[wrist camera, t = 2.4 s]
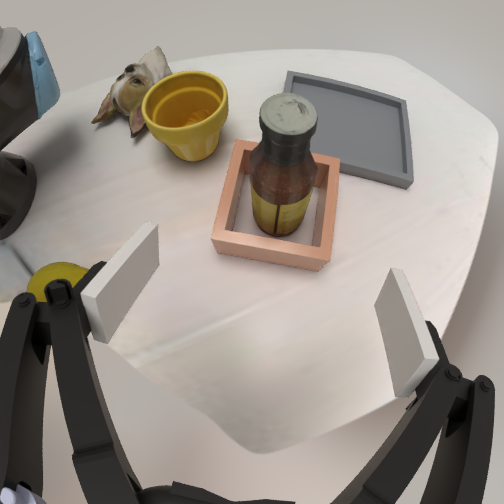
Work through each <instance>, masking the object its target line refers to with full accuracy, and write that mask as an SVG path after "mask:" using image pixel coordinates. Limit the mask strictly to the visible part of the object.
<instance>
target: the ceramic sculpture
mask: <svg viewBox="0 0 504 504" xmlns="http://www.w3.org/2000/svg"><path fill="white" fill-rule="evenodd" d="M170 75H172V72H171V70H170V68H169V66H168V64H167V61H166V58H165V55H164V54H163V52H162V50H161V48H160V47H159V46H157V47H156V48H155V49H154V50H152V51H150V52H149V53H147V54H145V55H144V56H143V57H142V58H141V59H140V61H139V62H138V63H134V64H131V65H129V66H127V67H126V68H125V71H124V73H123V74H122V75H121V76H119V77H118V78H117V79H116V82H115V83H114V84H113V85H112V87H111V91H110V93H109V94H108V95H107V97H106V98H105V99H104V100H103V102H102V104H101V108H100V109H99V112H98V115H97V116H96V117H95V118H94V119H93V121H92V122H91V123H92V124H95V123H98V122H101V121H104V120H107V119H109V118H111V117H112V116H113V115H114V114H115V113H116V112H117V111H119V112H120V113H121V114H123V115H126V116H129V126H130V130H131V138H133V137H135V136H136V135H137V134H139V133H140V132H141V131H142V130H143V129H144V128H145V127H146V126H147V125H146V123H145V120H144V118H143V115H142V110H141V108H142V102H143V99H144V97H145V95H146V93H147V92H148V91H149V90H150V88H151V87H152V86H154V85H155V84H156V83H157V82H159V81H160V80H162V79H163V78H165V77H167V76H170Z"/></svg>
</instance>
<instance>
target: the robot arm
mask: <svg viewBox="0 0 504 504" xmlns="http://www.w3.org/2000/svg"><path fill="white" fill-rule="evenodd" d="M59 97H60V89H59V86H58V82H57V80H56V77H55V74H54V71H53V69H52V66H51V63H50V61H49V58H48V56H47V53H46V51H45V48H44V46H43V43H42V41H41V39H40V37H39V35H38V34H37V32H35V31H33V32H31V33H28V34H26V36H25V37H24V36H23V35H22V33H21V32H20V31H19V30H18V29H17V28H15V27H10V28H4V29H2V28H1V27H0V240H1V239H4V238H6V237H8V236H9V235H10V234H12V233H13V232H14V231H15V230H16V229H17V228H18V226H19V225H20V224H21V222H22V221H23V219H24V218H25V216H26V214H27V212H28V210H29V208H30V206H31V203H32V200H33V197H34V193H35V188H36V173H35V170H34V167H33V166H32V165H31V164H30V163H29V162H28V161H27V160H26V159H25V158H23V157H22V156H19V155H16V154H12V153H8V152H5V151H1V150H2V149H3V148H4V147H6V146H7V145H8V144H9V143H10V142H11V141H12V140H13V139H15V138H16V137H17V136H18V135H19V134H20V133H22V132H23V131H24V130H25V129H27V128H28V127H29V126H30V125H31V124H33V123H34V122H35V121H37V120H38V119H40V118H41V117H42V115H43V114H44V113H45V112H47V111H48V110H49V109H50V108H51V107H53V106H54V105H55V104H56V103H57V101H58V99H59ZM158 266H159V246H158V224H155V223H149V222H145V223H144V224H143V225H142V226H141V227H140V228H139V229H138V230H137V231H136V232H135V233H134V235H133V236H132V237H131V238H130V239H129V240H128V241H127V242H126V243H125V244H124V245H123V246H122V247H121V248H120V249H119V250H118V251H117V253H116V254H115V255H114V256H113V257H112V258H111V259H110V260H109V261H108V262H103V261H101V262H99V263H97V264H95V265H93V266H92V267H91V268H90V269H89V271H88V272H87V273H86V274H85V275H84V276H83V278H81V279H80V280H79V281H78V283H77V284H76V285H75V286H74V287H73V288H72V285H71V283H70V281H68V280H67V279H55V280H53V281H51V282H49V283H48V284H47V285H46V286H45V288H44V294H45V297H46V300H47V302H37V299H36V297H35V295H34V294H33V293H30V292H25V293H21V294H19V295H18V296H16V297H15V298H14V300H13V302H12V304H11V307H10V310H9V313H8V315H7V318H6V321H5V324H4V328H3V331H2V334H1V337H0V504H46V502H45V501H44V500H43V499H42V490H43V461H42V460H43V458H42V437H43V412H44V398H45V387H46V378H47V369H48V362H49V355H50V349H51V345H52V349H53V356H54V363H55V370H56V376H57V382H58V387H59V392H60V397H61V402H62V407H63V411H64V416H65V420H66V424H67V428H68V432H69V435H70V439H71V442H72V446H73V450H74V453H73V455H72V460H73V464H74V467H75V470H76V473H77V476H78V479H79V482H80V485H81V487H82V490H83V492H84V495H85V498H86V500H87V503H88V504H295V502H292V501H279V500H269V499H263V500H252V501H238V502H233V501H229V500H227V499H225V498H223V497H220V496H218V495H216V494H214V493H211V492H209V491H207V490H205V489H203V488H198V487H194V486H190V485H186V484H182V483H178V482H175V481H173V483H172V486H168V485H165V486H155V487H150V488H146V489H144V490H143V489H142V487H141V485H140V483H139V481H138V479H137V477H136V475H135V474H134V472H133V470H132V468H131V466H130V464H129V462H128V459H127V457H126V455H125V452H124V450H123V448H122V445H121V443H120V440H119V438H118V435H117V433H116V430H115V428H114V425H113V422H112V419H111V416H110V413H109V411H108V408H107V405H106V402H105V399H104V396H103V393H102V389H101V386H100V383H99V379H98V376H97V372H96V369H95V365H94V361H93V357H92V354H91V350H90V346H89V341H88V338H87V336H88V335H89V333H90V332H92V335H93V339H94V340H97V341H100V342H103V343H105V344H108V343H109V341H110V339H111V338H112V336H113V335H114V333H115V331H116V330H117V328H118V327H119V325H120V323H121V322H122V320H123V319H124V317H125V316H126V314H127V313H128V311H129V309H130V308H131V306H132V305H133V303H134V302H135V300H136V299H137V297H138V296H139V294H140V293H141V291H142V290H143V288H144V287H145V285H146V284H147V282H148V281H149V279H150V278H151V276H152V275H153V273H154V272H155V271H156V269H157V268H158ZM374 306H375V310H376V313H377V317H378V321H379V325H380V329H381V333H382V337H383V342H384V346H385V350H386V355H387V359H388V364H389V368H390V373H391V378H392V383H393V388H394V394H395V397H409V396H410V395H411V394H412V393H413V392H414V390H415V391H416V395H417V397H416V398H415V399H414V400H413V401H412V402H411V403H410V404H409V406H408V407H407V408H406V410H407V411H406V412H405V414H404V415H403V417H402V418H401V420H400V421H399V422H398V424H397V425H396V427H395V428H394V429H393V431H392V433H391V434H390V435H389V436H388V438H387V439H386V440H385V442H384V443H383V444H382V446H381V447H380V448H379V449H378V451H377V452H376V453H375V455H374V456H373V457H372V458H371V460H370V461H369V462H368V463H367V465H366V466H365V467H364V468H363V469H362V470H361V471H360V473H359V474H358V475H357V476H356V477H355V478H354V480H353V481H352V482H351V483H350V484H349V485H348V486H347V487H346V488H345V489H344V491H342V492H341V494H340V495H339V496H338V497H337V498H336V499H335V500H334V501H333V502H332V503H330V504H395V503H396V501H397V500H398V498H399V497H400V496H401V494H402V493H403V491H404V490H405V488H406V487H407V486H408V484H409V482H410V481H411V480H412V478H413V476H414V475H415V473H416V472H417V470H418V468H419V467H420V465H421V464H422V462H423V460H424V459H425V457H426V455H427V454H428V452H429V450H430V448H431V447H432V445H433V443H434V441H435V439H436V437H437V435H438V434H439V432H440V430H441V428H442V431H441V435H440V439H439V443H438V447H437V451H436V455H435V459H434V462H433V466H432V469H431V472H430V476H429V479H428V482H427V485H426V488H425V491H424V494H423V496H422V499H421V502H420V504H482V499H483V495H484V490H485V485H486V480H487V475H488V469H489V462H490V455H491V447H492V438H493V426H494V408H495V388H494V384H493V382H492V381H491V380H490V379H489V378H488V377H486V376H484V375H479V376H478V377H477V378H476V379H475V380H474V381H471V380H468V379H465V378H463V377H462V373H461V372H460V370H459V369H458V368H457V367H456V366H454V365H452V364H450V363H449V361H448V358H447V356H446V353H445V350H444V347H443V345H442V344H441V340H440V338H439V335H438V332H437V330H436V328H435V327H434V326H433V324H432V323H431V322H430V321H425V320H424V318H423V315H422V313H421V310H420V308H419V306H418V303H417V301H416V298H415V296H414V294H413V292H412V289H411V287H410V285H409V283H408V280H407V278H406V276H405V274H404V272H403V270H401V269H396V268H391V269H390V271H389V273H388V276H387V278H386V280H385V283H384V285H383V287H382V289H381V292H380V294H379V296H378V298H377V300H376V303H375V305H374Z"/></svg>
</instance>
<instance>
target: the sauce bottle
mask: <svg viewBox="0 0 504 504" xmlns="http://www.w3.org/2000/svg"><path fill="white" fill-rule="evenodd" d="M317 120H318V116H317V111H316V108H315V107H314V106H313V105H312V103H311V102H309V101H308V100H307V99H305V98H303V97H302V96H300V95H297V94H293V93H281V94H277V95H273V96H272V97H270V98H268V99H267V100H266V101H265V102H264V103H263V105H262V106H261V108H260V117H259V123H260V127H261V130H262V141H261V142H260V143H259V144H258V145H257V146H256V147H255V148H254V149H253V150H252V151H251V154H250V184H251V193H252V205H253V215H254V217H255V220H256V221H257V224H258V226H259V227H260V228H261V229H262V230H264V231H265V232H267V233H269V234H271V235H274V236H284V235H287V234H289V233H291V232H293V231H295V230H296V229H297V227H298V226H299V224H300V223H301V222H302V220H303V217H304V214H305V211H306V208H307V206H308V203H309V200H310V197H311V193H312V190H313V187H314V183H315V177H316V173H317V170H318V166H317V165H316V163H315V161H314V159H313V156H312V154H311V151H310V140H311V137H312V136H313V135H314V134H315V132H316V127H317Z"/></svg>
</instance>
